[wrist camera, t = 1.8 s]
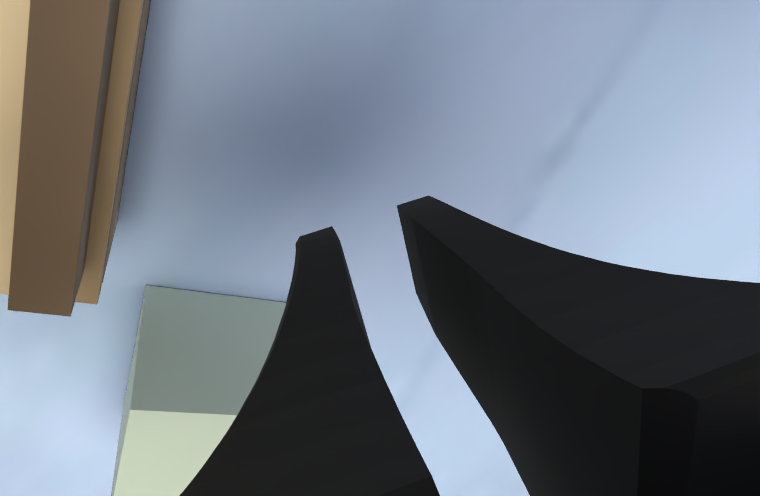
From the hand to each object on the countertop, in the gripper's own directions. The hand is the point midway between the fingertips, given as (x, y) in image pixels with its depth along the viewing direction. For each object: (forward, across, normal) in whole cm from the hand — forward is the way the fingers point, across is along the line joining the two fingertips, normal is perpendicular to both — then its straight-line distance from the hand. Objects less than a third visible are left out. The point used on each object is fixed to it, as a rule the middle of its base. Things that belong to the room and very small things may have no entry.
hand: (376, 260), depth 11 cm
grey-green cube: (+9, +6, +8) cm, 14 cm away
